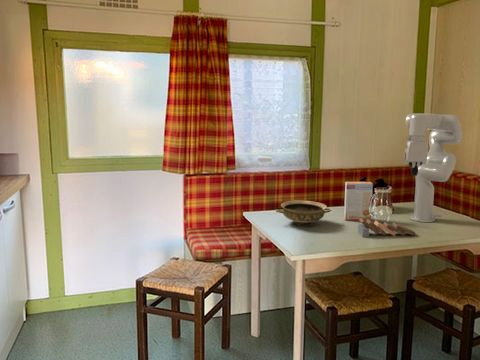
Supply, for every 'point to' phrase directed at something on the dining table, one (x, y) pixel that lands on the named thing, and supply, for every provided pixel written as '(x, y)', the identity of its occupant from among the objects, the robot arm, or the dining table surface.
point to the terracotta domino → (384, 228)
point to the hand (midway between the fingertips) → (414, 175)
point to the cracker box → (357, 200)
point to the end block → (363, 230)
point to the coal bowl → (379, 184)
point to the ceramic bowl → (303, 211)
